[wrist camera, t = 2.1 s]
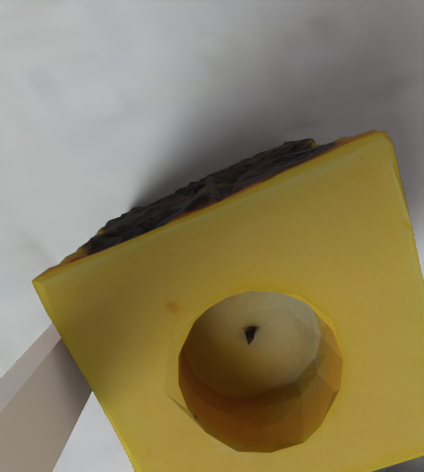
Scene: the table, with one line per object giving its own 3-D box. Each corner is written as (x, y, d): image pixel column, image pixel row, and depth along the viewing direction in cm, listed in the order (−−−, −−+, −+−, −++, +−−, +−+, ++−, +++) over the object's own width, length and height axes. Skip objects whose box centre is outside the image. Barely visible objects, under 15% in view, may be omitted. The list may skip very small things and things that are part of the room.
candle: (293, 138, 18) (396, 110, 8) (350, 305, 20) (489, 444, 10) (115, 212, 19) (14, 268, 9) (189, 366, 21) (172, 551, 11)
